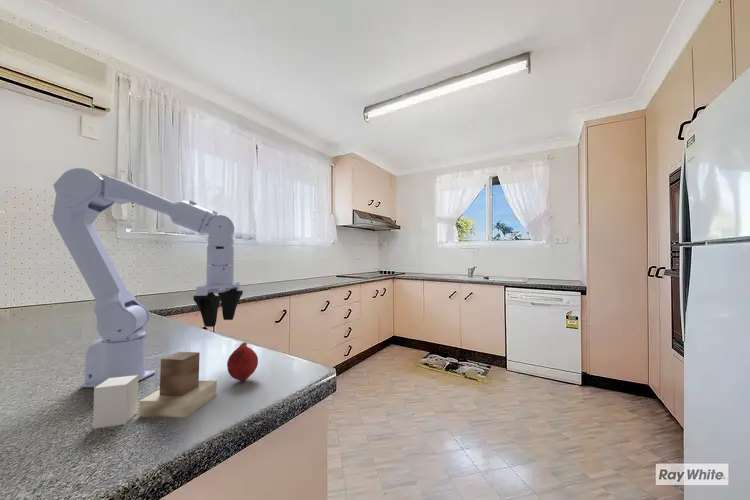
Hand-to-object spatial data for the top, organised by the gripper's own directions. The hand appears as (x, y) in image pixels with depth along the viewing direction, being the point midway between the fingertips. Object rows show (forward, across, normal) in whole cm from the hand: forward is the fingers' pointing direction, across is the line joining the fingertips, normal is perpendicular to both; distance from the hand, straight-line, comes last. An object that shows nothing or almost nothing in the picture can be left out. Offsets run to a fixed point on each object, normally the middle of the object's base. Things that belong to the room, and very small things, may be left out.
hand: (219, 322), depth 69 cm
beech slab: (+11, -18, -4) cm, 21 cm away
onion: (+11, -8, -10) cm, 17 cm away
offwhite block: (+10, -23, +3) cm, 25 cm away
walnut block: (+8, -18, -4) cm, 20 cm away
